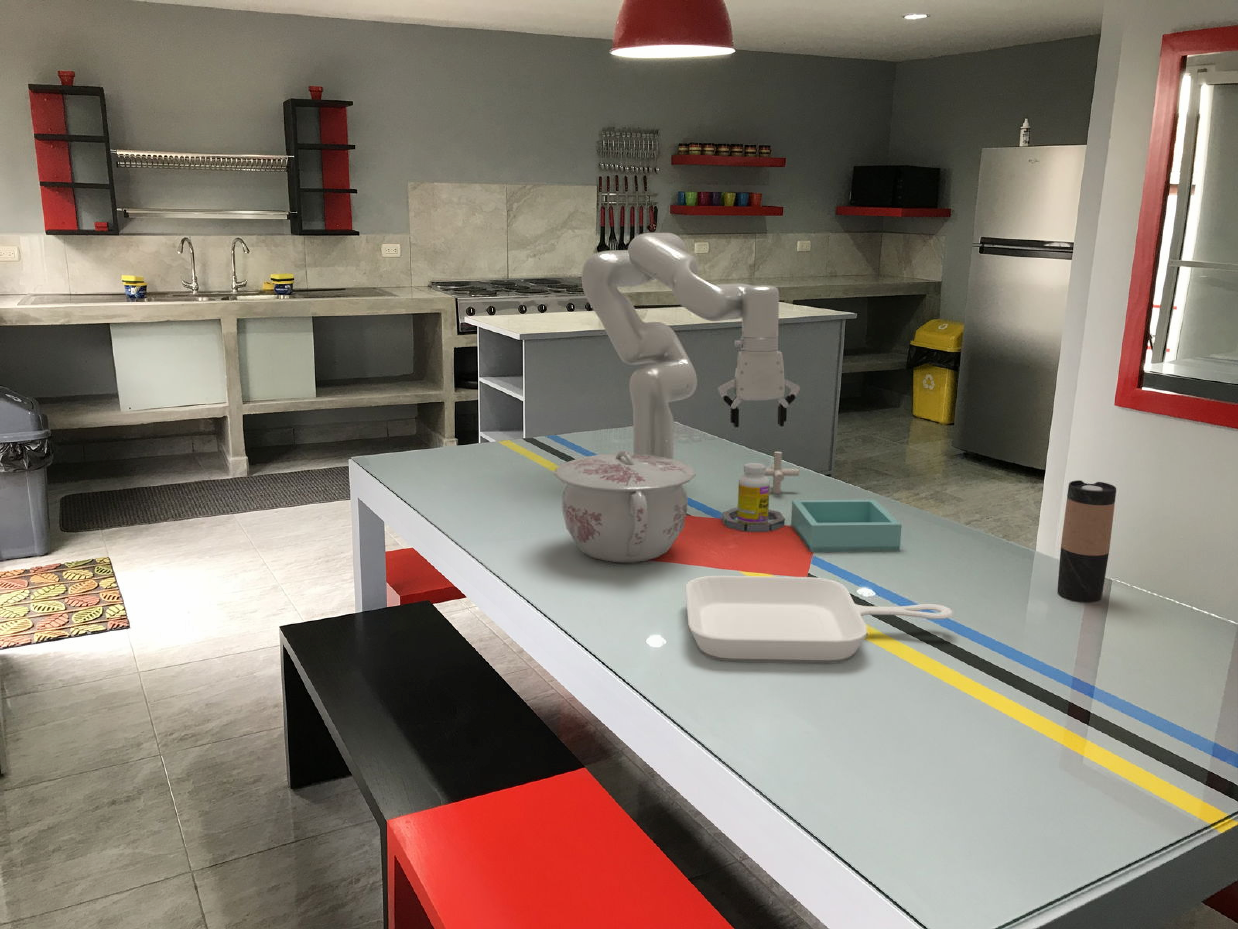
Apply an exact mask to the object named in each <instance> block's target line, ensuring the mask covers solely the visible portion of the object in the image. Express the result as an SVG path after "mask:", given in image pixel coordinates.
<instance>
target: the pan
mask: <svg viewBox="0 0 1238 929" xmlns="http://www.w3.org/2000/svg"><path fill="white" fill-rule="evenodd" d="M685 599H686V601H685V602H686V612H687V622H688V623H687V624H688V627H689V630H690V631H691V633H692V636H693V638H694V640H695V642H696V645H697V646H698V648H699V650H700V652H701V653H702V654H703V655H705V656H706V657H708V658H711V659H714V660H717V661H721V662H723V661H724V662H732V663H733V662H734V663H735V662H736V663H777V664H779V663H780V664H781V663H784V664H785V663H786V664H787V663H789V664H791V663H792V664H795V663H796V664H836V663H837V664H839V663H842V662H845V661H848V660H849V659H850V658H852V657H853V656H854V654H855V653H856V651H857V650H858V649H859V647H860V646H861V645H862V642H864V640H865V638H866V637H867V636H868V627H867V624H866V623H865V621H864V619H863V617H864V616H869V615H870V616H871V615H873V616H877V615H878V616H885V615H886V616H905V617H913V618H914V617H915V618H922V619H928V620H929V619H930V620H944V619H945V620H946V619H949V618H951V617H952V616H953V615H954V611H953V610H952V609H950V608H949V607H947V606H945V605H941V604H936V603H934V604H933V603H919V604H913V605H905V606H902V605H901V606H874V605H873V606H870V605H868V606H867V605H860V604H857V603H855V602H854V600H853V597H852V596H851V594H850V592H849V590H848V588H847V587H846V586H845V585H844V584H842V583H841V582H838V581H835V580H832V579H829V578H822V577H814V576H813V577H811V576H809V577H808V576H807V577H806V576H761V575H760V576H759V575H758V576H755V575H754V576H751V575H747V576H745V575H741V576H740V575H711V576H710V575H706V576H701V577H696V578H693V579H692V580H689V581H688V582H687V583H686V584H685ZM926 610H927V611H937V612H927V611H926Z"/></svg>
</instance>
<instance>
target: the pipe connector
mask: <svg viewBox="0 0 1238 929" xmlns="http://www.w3.org/2000/svg"><path fill="white" fill-rule="evenodd" d="M782 459H783V452H782V451H774V453H773V464H772V465H771V466H770V468H766V471H765V473H764V476H766V477H772V479H773V480H772V494H774V493H775V494H776V495H777V493H778V494H779V495H780V494H781V482H783V481H784V479H785V477H799V474H800V473H799V472H800V471H799V468H782V462H783V461H782Z"/></svg>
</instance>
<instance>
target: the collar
mask: <svg viewBox="0 0 1238 929" xmlns="http://www.w3.org/2000/svg"><path fill="white" fill-rule="evenodd" d="M737 513H738V507H734V508H731V509H728V510H725V511H722V512H721V515H720V516H721V517H720V518H721V522H722V524H723V526H724V527H726V528H729V529H733V530H736V531H741V532H747V533H751V532H753V533H755V532H756V533H757V532H760V533H761V532H767V533H769V532H773V531H775V530H778V529H780V528H783V527H785V521H786V518H785V517H784V515H783V514H782V513H781V512H780V511H777V510H773V509H768V520H769V519H770V521H768V522H767V523H746V522H742V521H738V520H737V519H734V518H737Z"/></svg>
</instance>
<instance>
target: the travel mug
mask: <svg viewBox="0 0 1238 929" xmlns="http://www.w3.org/2000/svg"><path fill="white" fill-rule="evenodd" d="M1066 496H1067V497H1066V503H1065V510H1064V511H1065V512H1064V518H1063V527H1062V534H1061V542H1060V554H1059V565H1058V568H1059V569H1058V578H1057V594H1058V595H1059V596H1060V597H1061V598H1063V599H1066V600H1070V601H1072V602H1079V603H1088V604H1089V603H1097V602H1100V601H1101V600H1102V596H1103V591H1104V585H1105V580H1106V574H1107V567H1108V561H1109V554H1110V549H1111V541H1112V540H1111V538H1112V530H1113V523H1114V522H1113V521H1114V514H1115V513H1114V512H1115V504H1116V496H1117V487H1116V486H1115V485H1113V484H1111V483H1107V482H1102V481H1096V482H1095V483H1087V482H1086V483H1085V482H1084V481H1083V480H1079V479H1078V480H1072V481H1069V483H1068V488H1067V495H1066Z"/></svg>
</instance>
